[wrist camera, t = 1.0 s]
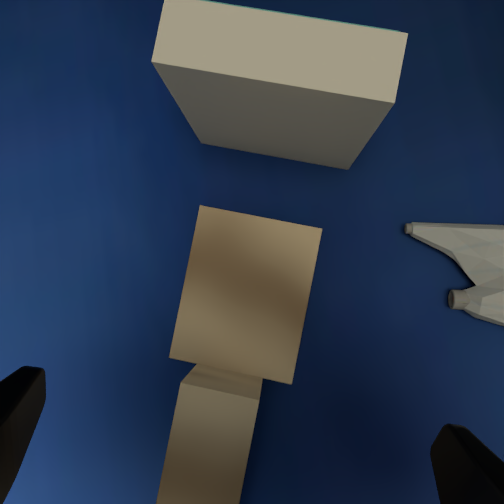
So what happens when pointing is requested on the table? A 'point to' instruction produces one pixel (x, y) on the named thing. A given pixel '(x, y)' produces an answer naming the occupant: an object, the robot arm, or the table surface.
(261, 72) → the tile
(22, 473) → the table surface
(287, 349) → the tan stacked blocks
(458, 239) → the spaceship
